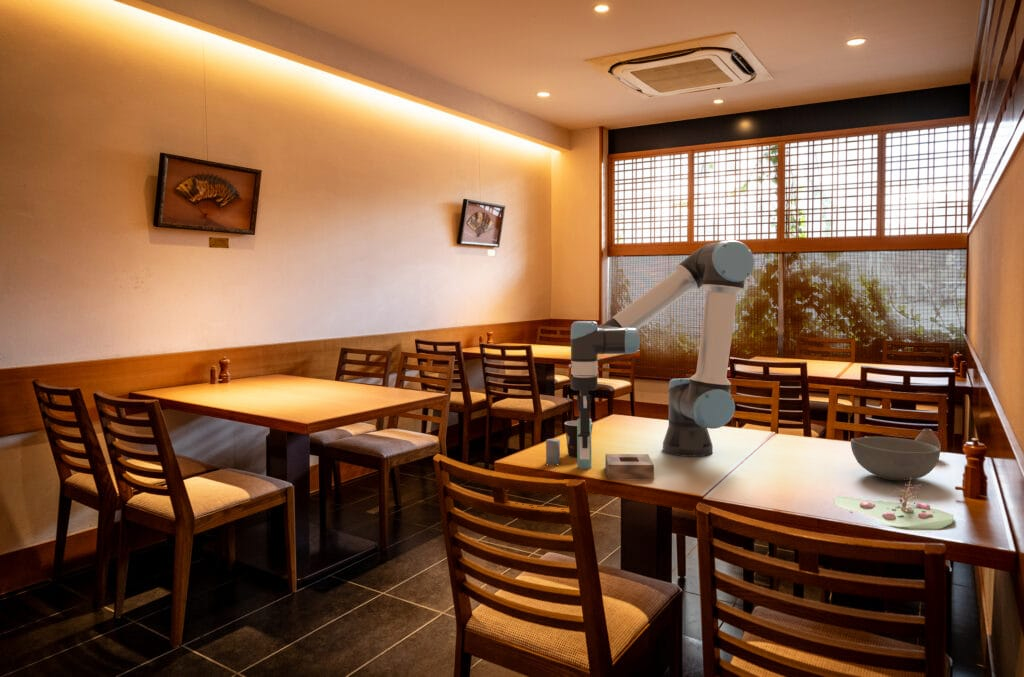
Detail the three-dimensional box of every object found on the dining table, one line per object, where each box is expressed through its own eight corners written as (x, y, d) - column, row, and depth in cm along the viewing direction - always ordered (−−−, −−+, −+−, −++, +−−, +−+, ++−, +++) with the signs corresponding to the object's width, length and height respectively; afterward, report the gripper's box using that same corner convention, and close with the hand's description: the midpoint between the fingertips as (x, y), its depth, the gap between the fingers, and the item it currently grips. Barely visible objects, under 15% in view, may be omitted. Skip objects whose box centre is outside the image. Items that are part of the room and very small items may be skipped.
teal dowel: (591, 465, 195) (590, 417, 194) (591, 469, 191) (591, 420, 190) (577, 465, 195) (577, 417, 194) (577, 469, 191) (577, 420, 190)
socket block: (647, 468, 192) (648, 454, 191) (653, 479, 180) (653, 465, 179) (605, 467, 192) (605, 453, 192) (608, 479, 180) (608, 464, 180)
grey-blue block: (559, 462, 199) (559, 438, 199) (559, 465, 195) (559, 441, 195) (546, 462, 200) (546, 438, 199) (546, 465, 196) (545, 441, 195)
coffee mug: (591, 459, 202) (591, 426, 202) (562, 458, 204) (562, 425, 203) (594, 450, 214) (594, 419, 213) (567, 449, 215) (567, 418, 215)
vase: (938, 457, 200) (939, 428, 200) (942, 462, 194) (943, 432, 194) (911, 455, 203) (912, 426, 203) (914, 460, 197) (915, 430, 196)
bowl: (939, 494, 164) (940, 454, 164) (846, 482, 175) (847, 444, 174) (938, 475, 181) (939, 438, 181) (853, 465, 192) (854, 430, 191)
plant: (815, 513, 153) (816, 474, 153) (843, 493, 168) (844, 457, 168) (943, 540, 136) (945, 496, 136) (962, 514, 152) (963, 475, 151)
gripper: (570, 371, 200) (570, 449, 202) (571, 379, 182) (571, 464, 184) (595, 371, 200) (595, 449, 201) (599, 379, 182) (599, 464, 183)
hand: (584, 456), depth 193 cm, fingers open, 5 cm apart
